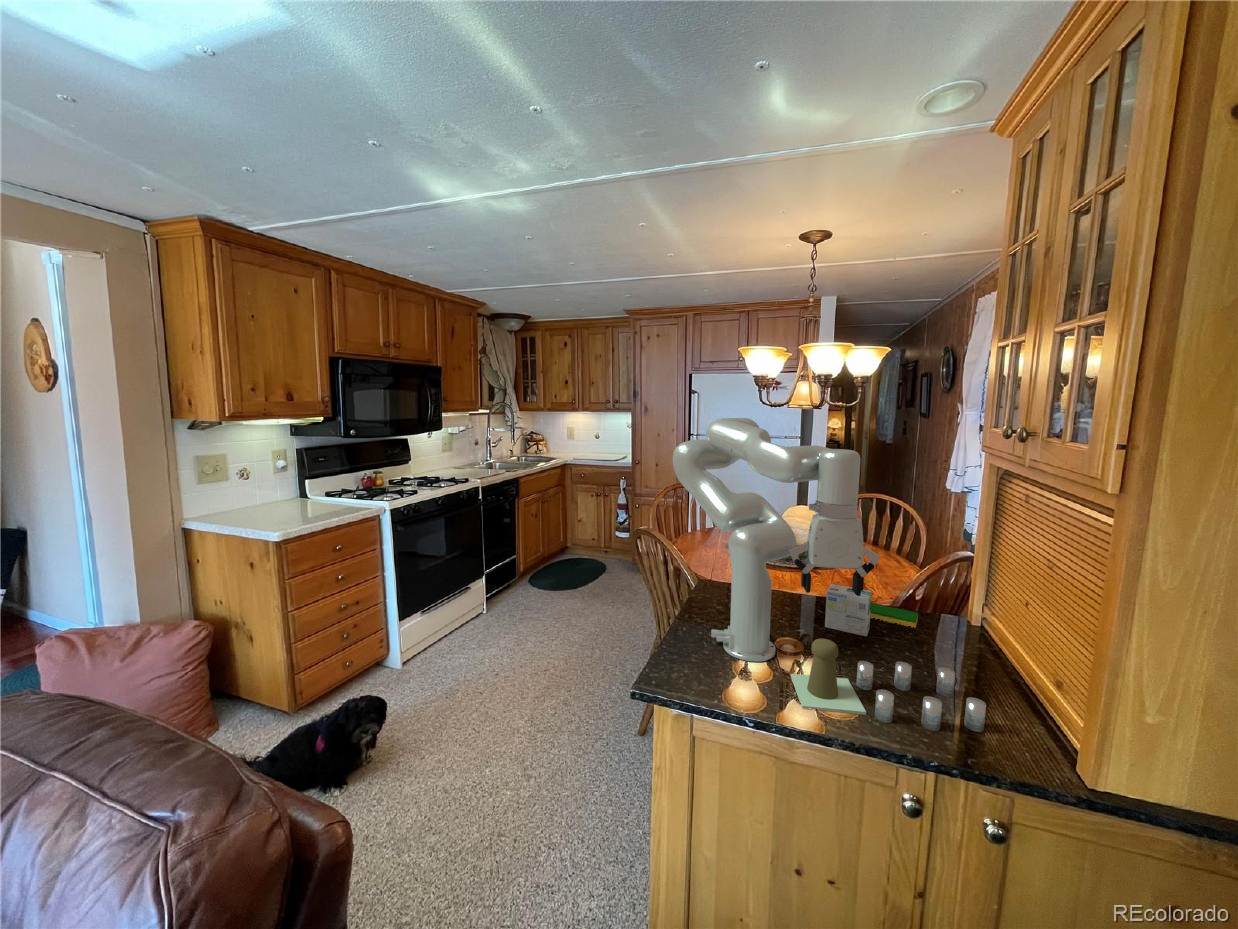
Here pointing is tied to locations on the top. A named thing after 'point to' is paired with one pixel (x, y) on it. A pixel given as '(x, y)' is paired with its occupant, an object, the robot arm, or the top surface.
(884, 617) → the dish sponge
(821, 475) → the robot arm
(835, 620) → the light bulb box
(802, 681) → the mat
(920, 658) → the top surface
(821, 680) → the olive rounded piece
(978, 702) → the spacer field
